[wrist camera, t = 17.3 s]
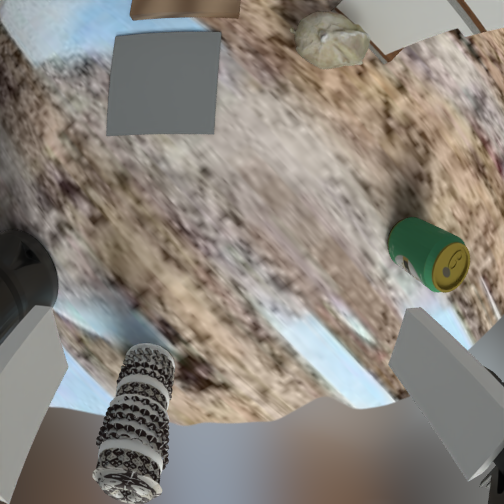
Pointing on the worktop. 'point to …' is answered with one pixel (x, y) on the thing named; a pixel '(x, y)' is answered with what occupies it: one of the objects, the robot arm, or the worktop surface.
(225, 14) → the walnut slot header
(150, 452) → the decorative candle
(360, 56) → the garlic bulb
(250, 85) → the worktop surface
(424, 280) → the beverage can
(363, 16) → the white tall block
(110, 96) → the charcoal mat
